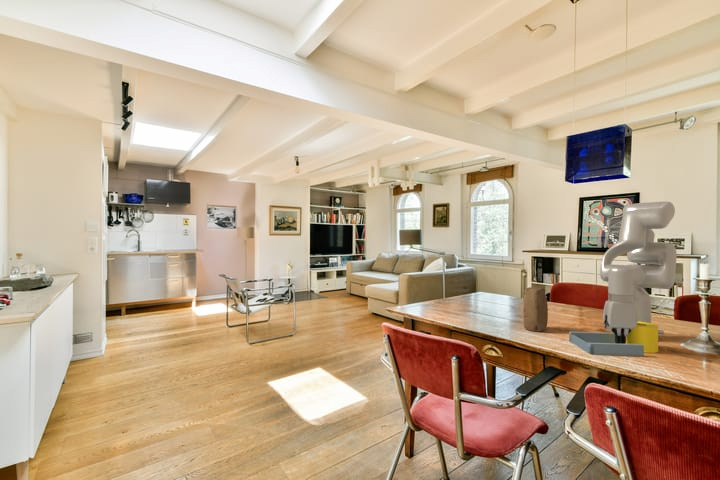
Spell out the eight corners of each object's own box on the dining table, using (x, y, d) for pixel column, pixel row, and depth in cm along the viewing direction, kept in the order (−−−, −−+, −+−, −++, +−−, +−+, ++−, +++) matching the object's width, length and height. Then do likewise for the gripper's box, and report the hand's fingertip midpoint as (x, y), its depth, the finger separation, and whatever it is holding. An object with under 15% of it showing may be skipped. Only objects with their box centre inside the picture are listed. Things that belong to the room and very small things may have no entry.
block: (537, 333, 146) (536, 289, 146) (521, 329, 153) (521, 287, 153) (550, 329, 152) (550, 287, 152) (534, 325, 158) (534, 285, 158)
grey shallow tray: (616, 342, 133) (616, 332, 133) (643, 356, 117) (643, 345, 117) (569, 340, 135) (569, 331, 135) (590, 354, 120) (590, 343, 120)
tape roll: (640, 343, 131) (640, 320, 131) (665, 352, 121) (665, 327, 121) (617, 344, 130) (617, 321, 130) (641, 353, 120) (641, 328, 120)
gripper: (634, 297, 128) (634, 342, 128) (593, 296, 130) (593, 341, 130) (648, 300, 120) (648, 349, 120) (605, 299, 123) (605, 347, 123)
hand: (620, 345), depth 125 cm, fingers closed
